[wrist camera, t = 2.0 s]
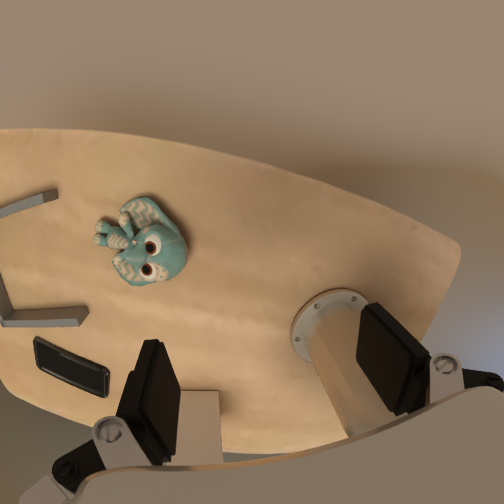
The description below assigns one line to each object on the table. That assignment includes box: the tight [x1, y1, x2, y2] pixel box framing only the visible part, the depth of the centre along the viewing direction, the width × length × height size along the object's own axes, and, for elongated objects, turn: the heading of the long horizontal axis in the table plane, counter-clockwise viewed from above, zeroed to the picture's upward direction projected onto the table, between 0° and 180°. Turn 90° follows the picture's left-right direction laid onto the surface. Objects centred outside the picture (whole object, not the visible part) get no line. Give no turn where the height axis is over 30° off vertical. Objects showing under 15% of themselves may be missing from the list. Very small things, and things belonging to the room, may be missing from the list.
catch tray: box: [0, 190, 89, 327], centre depth 27 cm, size 18×17×4 cm
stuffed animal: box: [93, 197, 188, 286], centre depth 28 cm, size 11×7×12 cm
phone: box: [33, 336, 110, 398], centre depth 35 cm, size 8×1×15 cm
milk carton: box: [167, 391, 223, 466], centre depth 31 cm, size 7×7×19 cm
